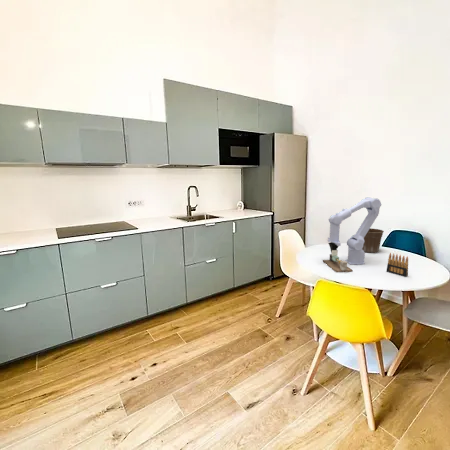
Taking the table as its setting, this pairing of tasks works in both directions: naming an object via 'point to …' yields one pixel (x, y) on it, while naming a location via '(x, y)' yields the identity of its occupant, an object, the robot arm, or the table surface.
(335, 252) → the green sliding block
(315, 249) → the table surface
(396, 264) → the ammunition clip
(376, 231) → the plant pot
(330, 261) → the brown plate
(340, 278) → the table surface
